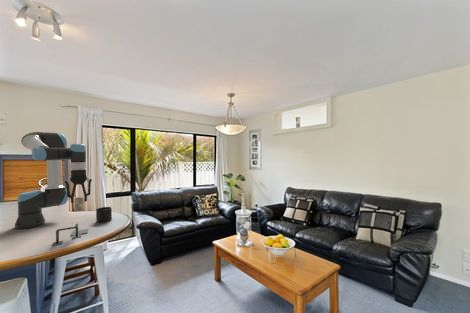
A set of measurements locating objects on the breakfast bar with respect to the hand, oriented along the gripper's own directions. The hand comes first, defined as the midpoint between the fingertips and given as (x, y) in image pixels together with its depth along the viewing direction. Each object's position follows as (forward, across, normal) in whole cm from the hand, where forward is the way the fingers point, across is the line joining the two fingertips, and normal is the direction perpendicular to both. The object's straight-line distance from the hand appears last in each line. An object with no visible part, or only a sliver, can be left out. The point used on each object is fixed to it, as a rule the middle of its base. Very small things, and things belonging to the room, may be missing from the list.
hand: (79, 207), depth 128 cm
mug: (+16, +13, +18) cm, 27 cm away
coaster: (+16, 0, 0) cm, 16 cm away
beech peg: (+2, 0, 0) cm, 2 cm away
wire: (+16, -5, -10) cm, 19 cm away
